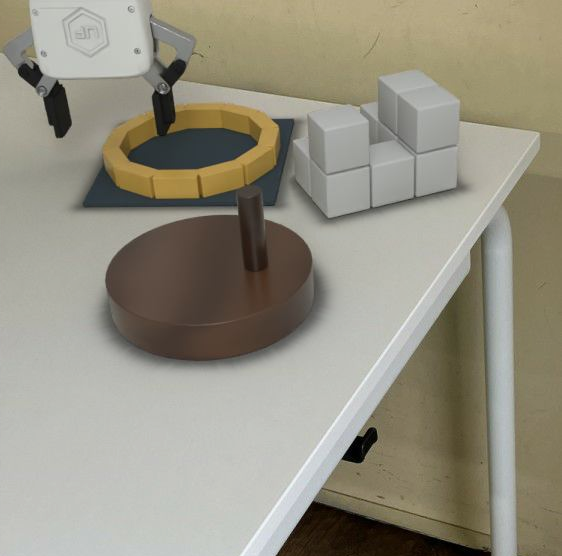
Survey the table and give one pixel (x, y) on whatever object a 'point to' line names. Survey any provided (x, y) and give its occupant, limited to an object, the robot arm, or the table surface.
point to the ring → (194, 180)
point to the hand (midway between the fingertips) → (114, 131)
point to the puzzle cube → (381, 147)
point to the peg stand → (212, 284)
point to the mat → (191, 165)
